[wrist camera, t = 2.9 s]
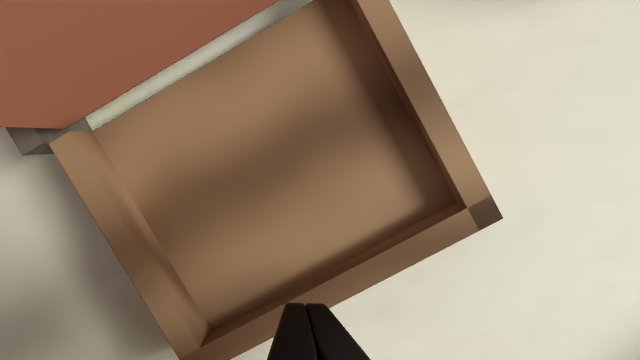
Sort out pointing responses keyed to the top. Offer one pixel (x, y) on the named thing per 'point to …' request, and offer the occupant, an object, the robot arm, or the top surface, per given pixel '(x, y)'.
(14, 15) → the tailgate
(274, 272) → the wooden tray
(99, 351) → the top surface
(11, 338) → the top surface
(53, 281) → the top surface
